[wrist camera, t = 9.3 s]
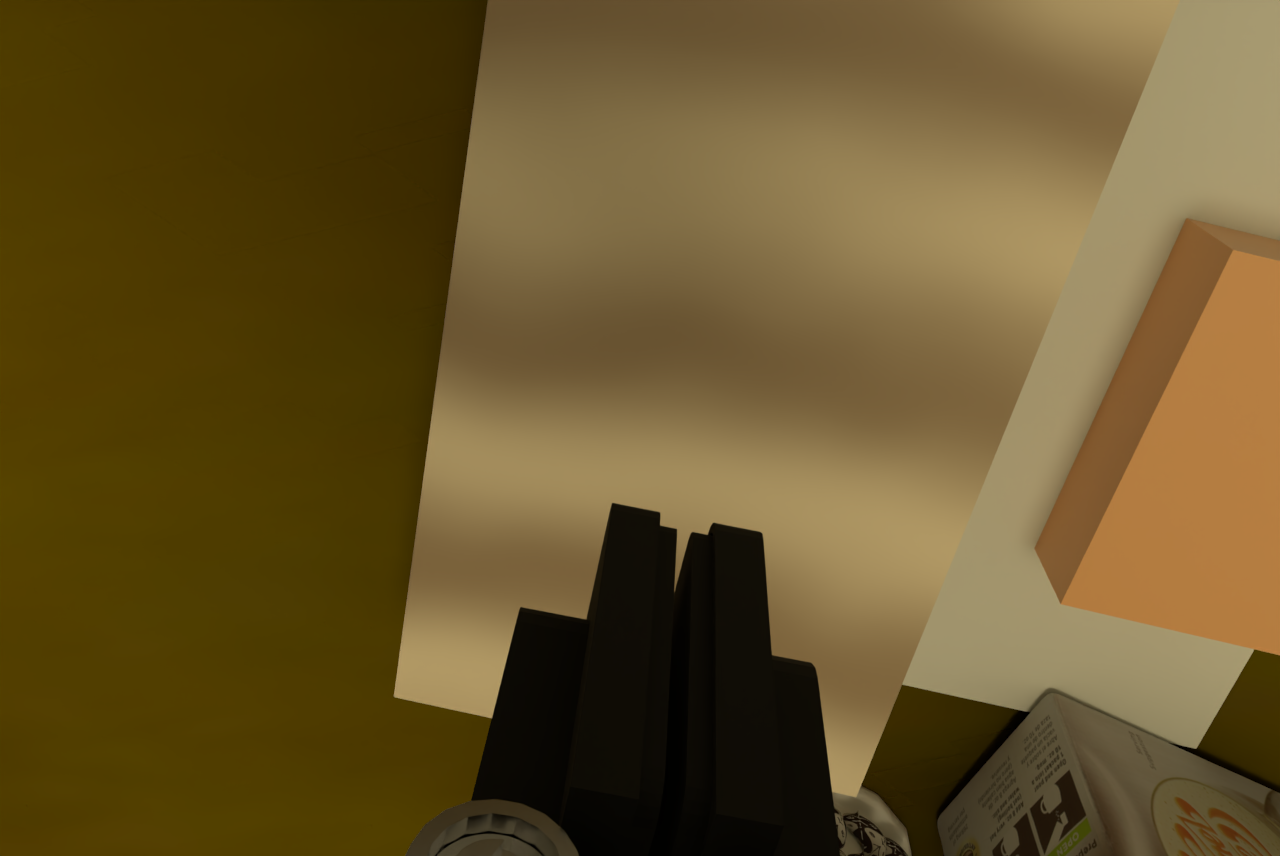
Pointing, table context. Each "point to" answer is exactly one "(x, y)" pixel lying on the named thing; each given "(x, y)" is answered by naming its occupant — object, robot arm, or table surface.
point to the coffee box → (1105, 795)
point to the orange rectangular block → (1185, 456)
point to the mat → (1079, 378)
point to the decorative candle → (868, 826)
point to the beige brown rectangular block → (753, 306)
